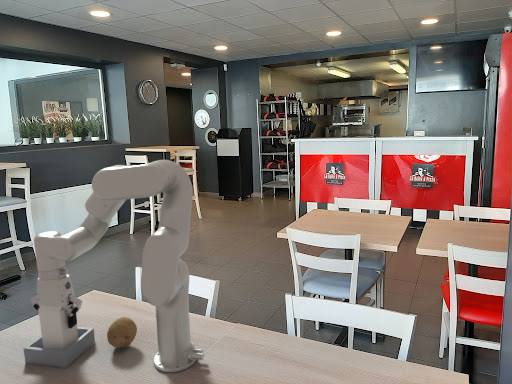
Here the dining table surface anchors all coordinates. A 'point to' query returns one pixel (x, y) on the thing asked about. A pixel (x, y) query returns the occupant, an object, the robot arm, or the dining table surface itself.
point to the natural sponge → (122, 332)
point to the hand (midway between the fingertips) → (59, 325)
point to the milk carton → (56, 328)
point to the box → (59, 357)
